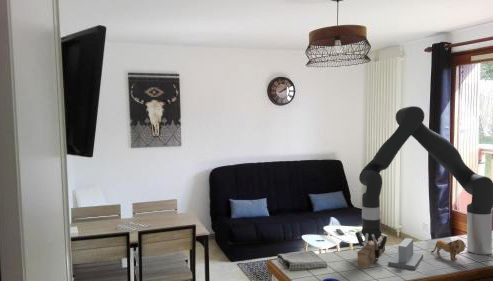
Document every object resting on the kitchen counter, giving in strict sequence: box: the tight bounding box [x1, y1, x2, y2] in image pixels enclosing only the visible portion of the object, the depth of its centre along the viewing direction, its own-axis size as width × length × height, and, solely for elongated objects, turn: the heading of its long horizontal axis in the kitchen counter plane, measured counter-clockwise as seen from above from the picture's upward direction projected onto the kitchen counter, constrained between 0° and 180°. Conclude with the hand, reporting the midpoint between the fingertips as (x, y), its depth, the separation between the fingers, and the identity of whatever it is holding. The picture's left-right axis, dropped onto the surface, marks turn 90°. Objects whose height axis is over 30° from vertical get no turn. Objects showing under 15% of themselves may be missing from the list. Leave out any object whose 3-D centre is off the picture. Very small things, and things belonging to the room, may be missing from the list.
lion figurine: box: [430, 238, 467, 262], centre depth 164 cm, size 15×5×9 cm, turn 34°
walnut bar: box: [356, 236, 386, 269], centre depth 167 cm, size 24×4×6 cm, turn 143°
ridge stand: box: [388, 237, 424, 271], centre depth 162 cm, size 16×10×8 cm, turn 145°
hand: (372, 256), depth 167 cm, fingers closed on walnut bar, 3 cm apart
